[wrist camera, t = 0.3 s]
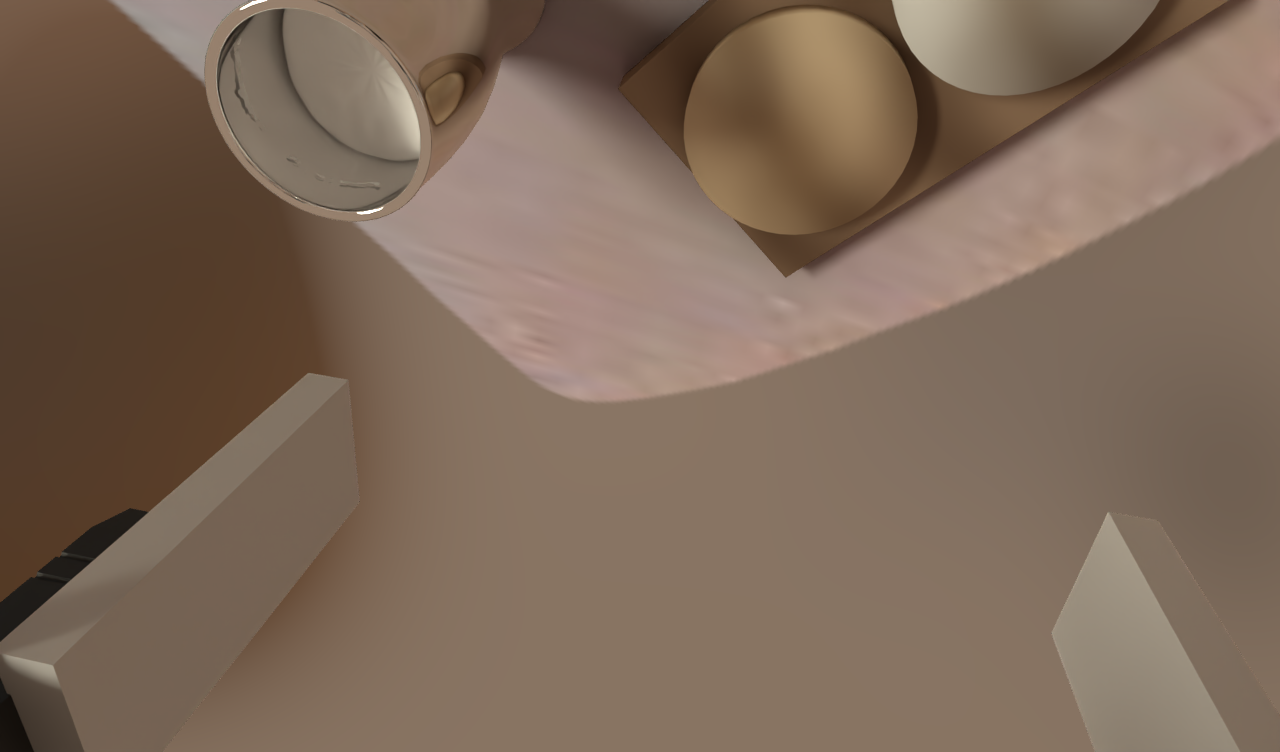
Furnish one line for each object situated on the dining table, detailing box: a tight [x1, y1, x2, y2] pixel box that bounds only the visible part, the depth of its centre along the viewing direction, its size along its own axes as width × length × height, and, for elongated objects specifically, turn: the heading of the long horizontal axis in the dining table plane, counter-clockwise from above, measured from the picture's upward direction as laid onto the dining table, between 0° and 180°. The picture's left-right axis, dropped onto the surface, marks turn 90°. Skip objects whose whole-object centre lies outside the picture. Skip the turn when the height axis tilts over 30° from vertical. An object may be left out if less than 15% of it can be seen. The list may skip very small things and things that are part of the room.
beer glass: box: [204, 0, 546, 222], centre depth 28 cm, size 7×7×15 cm
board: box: [618, 0, 1229, 277], centre depth 32 cm, size 20×12×3 cm, turn 133°
